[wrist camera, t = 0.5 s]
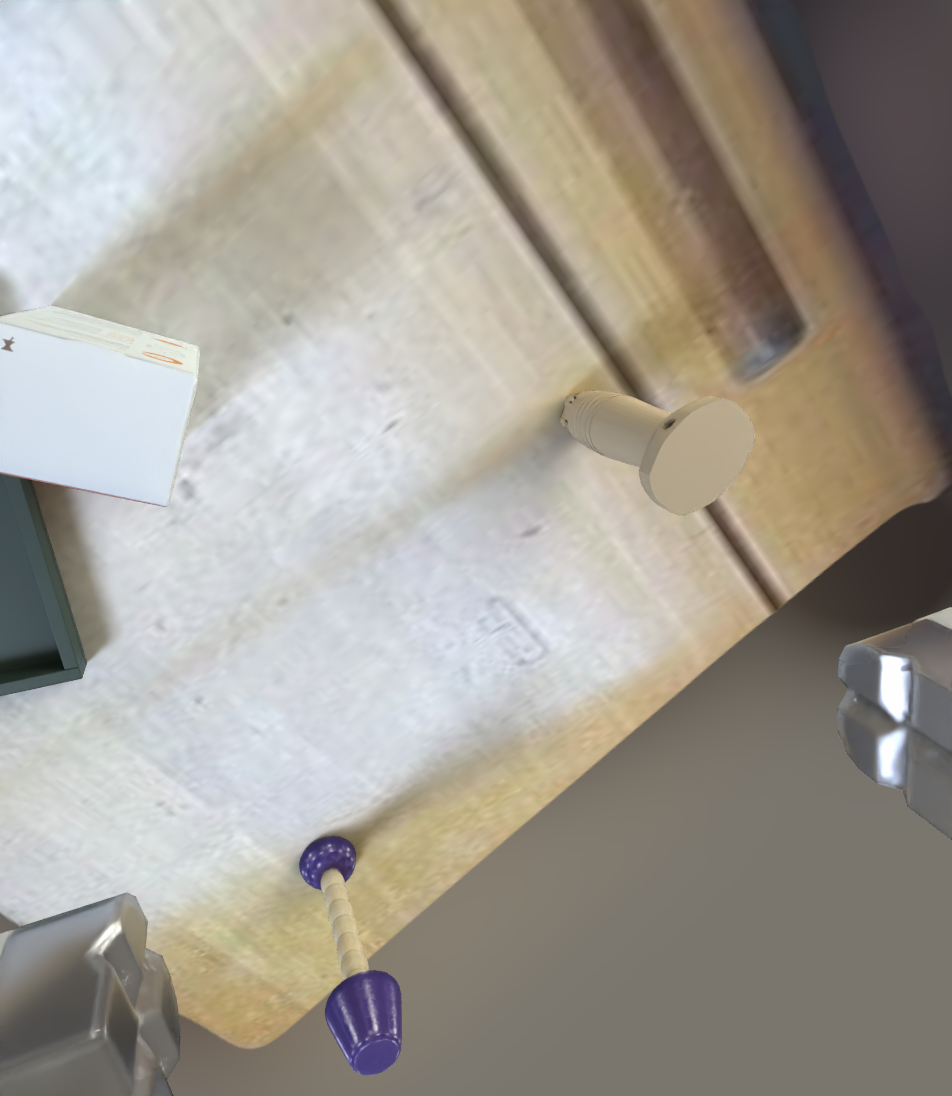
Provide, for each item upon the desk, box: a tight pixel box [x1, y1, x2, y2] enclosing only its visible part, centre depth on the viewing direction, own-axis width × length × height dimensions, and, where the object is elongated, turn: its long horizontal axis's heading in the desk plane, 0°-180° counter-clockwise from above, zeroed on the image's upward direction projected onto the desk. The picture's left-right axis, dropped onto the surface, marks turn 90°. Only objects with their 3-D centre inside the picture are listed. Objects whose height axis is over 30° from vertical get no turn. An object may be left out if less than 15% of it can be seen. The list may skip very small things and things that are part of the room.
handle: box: [560, 390, 755, 516], centre depth 47 cm, size 5×6×15 cm
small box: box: [0, 305, 200, 507], centre depth 39 cm, size 8×6×13 cm
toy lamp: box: [299, 836, 402, 1075], centre depth 52 cm, size 5×5×17 cm
